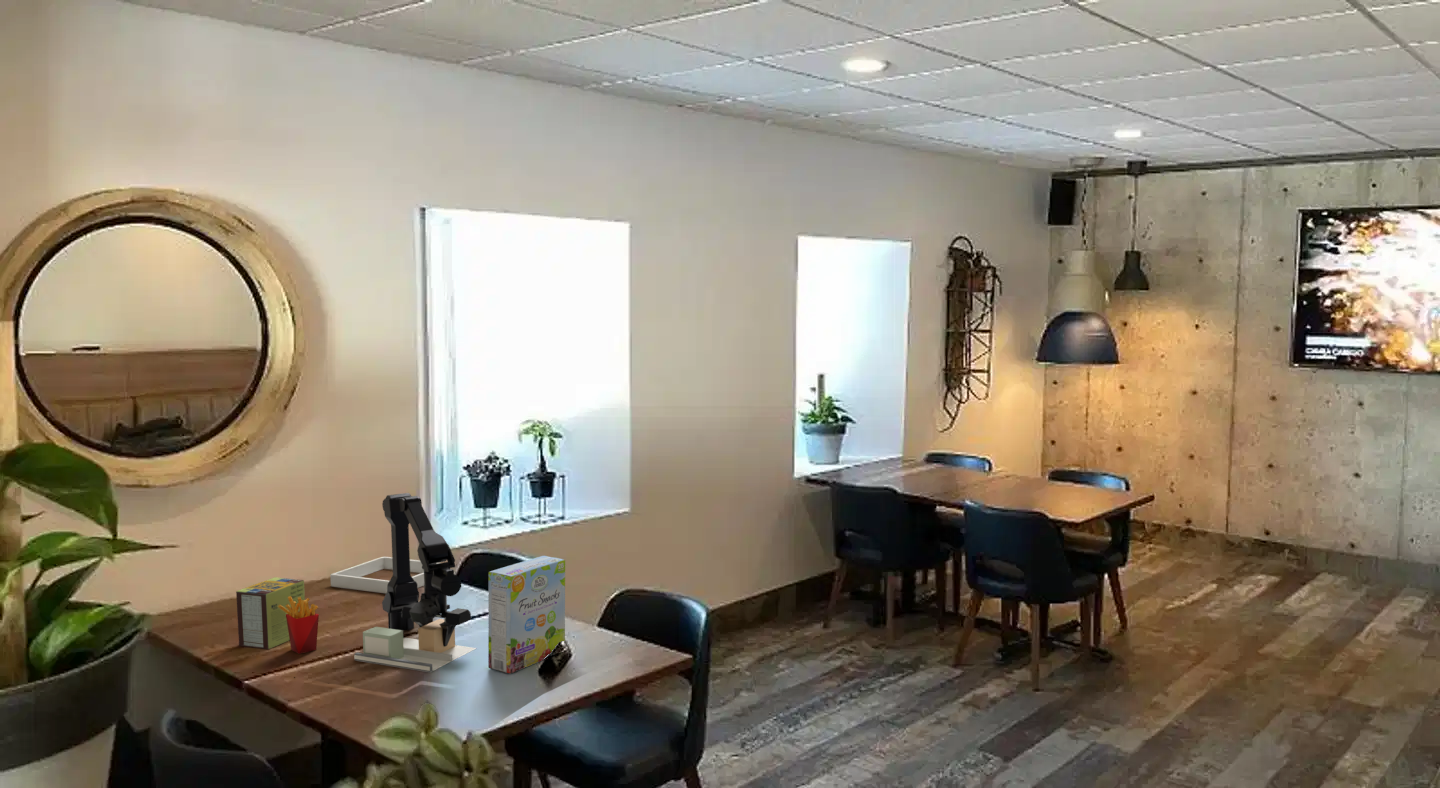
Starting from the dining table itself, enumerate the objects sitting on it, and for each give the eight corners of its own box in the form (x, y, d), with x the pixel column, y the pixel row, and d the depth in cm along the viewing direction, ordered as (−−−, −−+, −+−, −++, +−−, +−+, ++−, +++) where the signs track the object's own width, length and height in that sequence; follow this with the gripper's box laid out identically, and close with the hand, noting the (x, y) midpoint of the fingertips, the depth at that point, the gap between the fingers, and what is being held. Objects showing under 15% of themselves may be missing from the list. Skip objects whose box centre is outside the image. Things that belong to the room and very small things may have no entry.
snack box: (512, 676, 276) (510, 576, 274) (487, 669, 281) (484, 571, 278) (568, 651, 295) (566, 557, 292) (543, 646, 299) (541, 553, 297)
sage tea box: (403, 656, 289) (402, 630, 288) (391, 662, 284) (390, 636, 284) (376, 652, 292) (375, 626, 292) (363, 658, 288) (362, 632, 287)
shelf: (354, 663, 286) (354, 653, 286) (404, 640, 305) (404, 631, 304) (429, 675, 277) (429, 665, 277) (476, 651, 295) (476, 641, 295)
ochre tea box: (434, 656, 289) (433, 630, 288) (418, 653, 291) (417, 628, 290) (455, 646, 297) (454, 620, 296) (439, 643, 299) (439, 618, 298)
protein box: (307, 633, 312) (304, 579, 310) (268, 649, 297) (265, 594, 296) (277, 629, 315) (274, 576, 314) (237, 646, 301) (234, 590, 299)
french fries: (310, 644, 302) (308, 590, 300) (323, 651, 296) (321, 596, 294) (278, 651, 296) (276, 597, 294) (291, 658, 290) (289, 603, 288)
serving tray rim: (330, 586, 360) (330, 574, 360) (383, 567, 384) (383, 556, 384) (399, 595, 350) (399, 582, 349) (449, 575, 373) (449, 563, 373)
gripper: (387, 592, 288) (389, 649, 290) (445, 599, 281) (447, 658, 283) (414, 581, 299) (416, 637, 300) (471, 588, 291) (472, 645, 293)
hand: (436, 644), depth 294 cm, fingers closed on ochre tea box, 5 cm apart
